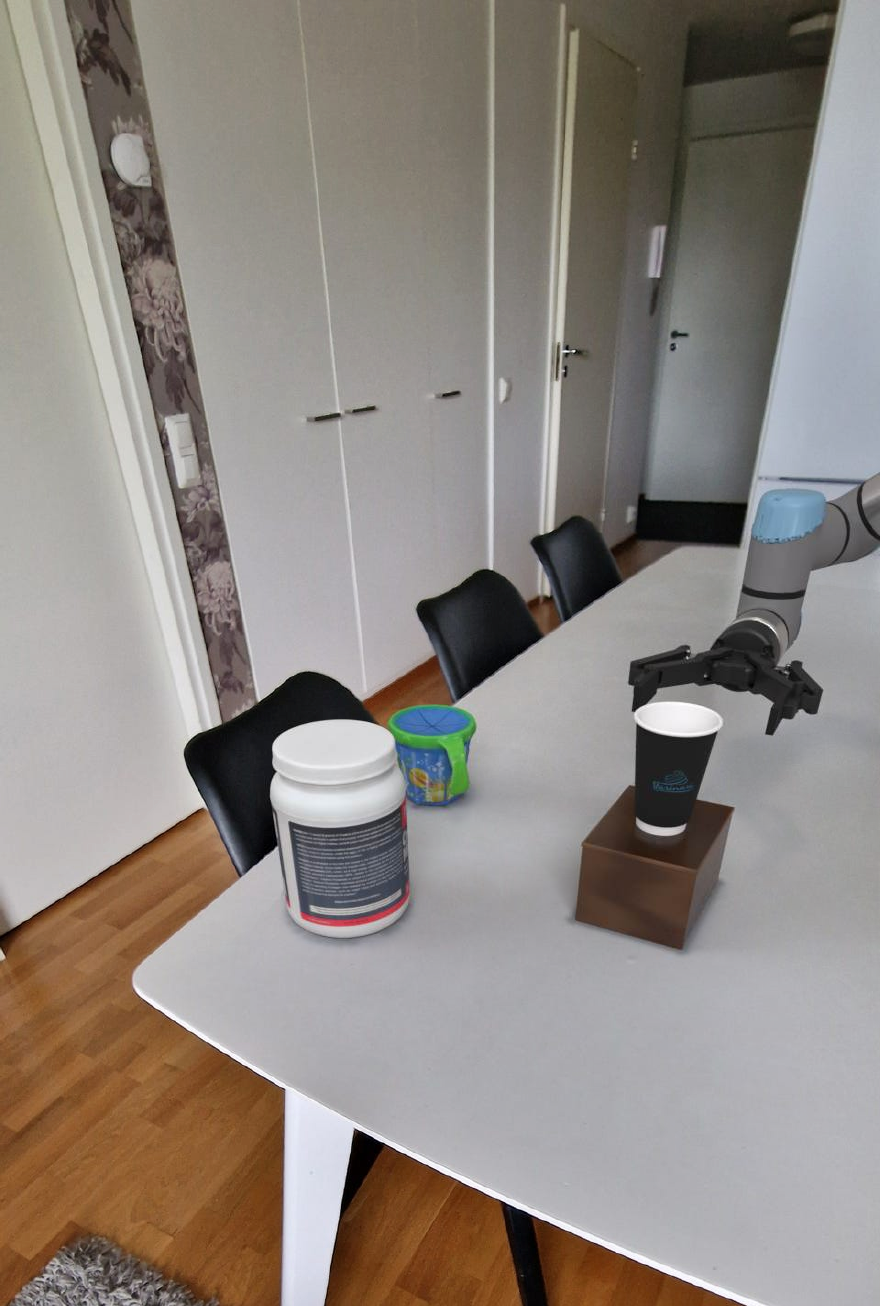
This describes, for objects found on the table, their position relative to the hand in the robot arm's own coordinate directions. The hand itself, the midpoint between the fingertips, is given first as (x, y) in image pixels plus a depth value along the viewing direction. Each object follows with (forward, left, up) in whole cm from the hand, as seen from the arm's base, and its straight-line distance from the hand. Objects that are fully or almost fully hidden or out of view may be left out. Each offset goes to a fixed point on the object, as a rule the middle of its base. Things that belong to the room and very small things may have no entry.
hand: (701, 710), depth 85 cm
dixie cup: (0, +9, -9) cm, 13 cm away
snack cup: (+32, -2, -18) cm, 37 cm away
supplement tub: (+27, +25, -18) cm, 41 cm away
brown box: (0, +9, -17) cm, 20 cm away
